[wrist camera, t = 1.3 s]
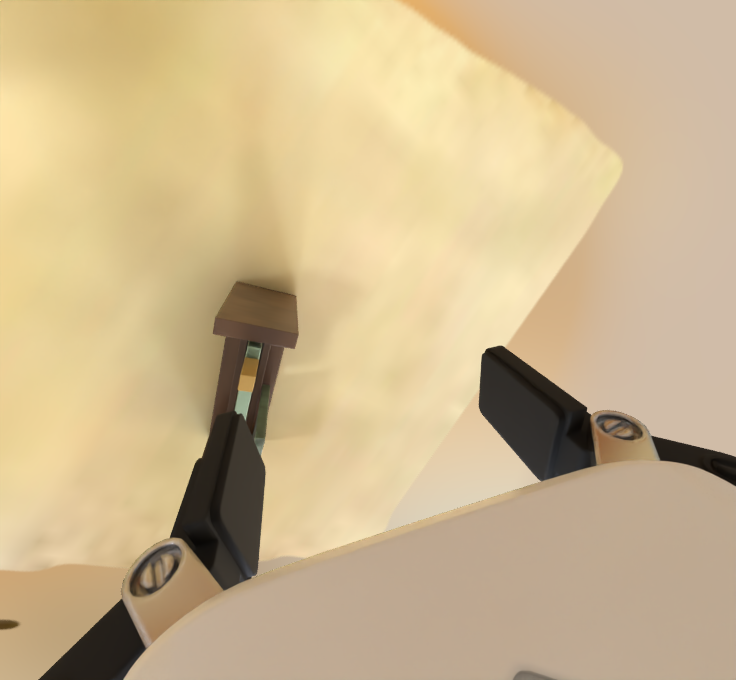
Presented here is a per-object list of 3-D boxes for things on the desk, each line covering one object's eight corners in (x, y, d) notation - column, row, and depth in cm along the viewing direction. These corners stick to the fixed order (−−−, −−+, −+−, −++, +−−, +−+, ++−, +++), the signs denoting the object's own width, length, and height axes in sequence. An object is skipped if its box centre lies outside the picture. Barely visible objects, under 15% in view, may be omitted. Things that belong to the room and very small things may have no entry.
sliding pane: (243, 376, 39) (225, 452, 28) (257, 307, 35) (242, 363, 24) (253, 377, 39) (239, 453, 28) (268, 310, 36) (258, 365, 25)
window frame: (209, 437, 44) (185, 512, 34) (236, 281, 35) (214, 317, 25) (259, 441, 46) (251, 512, 36) (296, 295, 38) (298, 334, 27)
